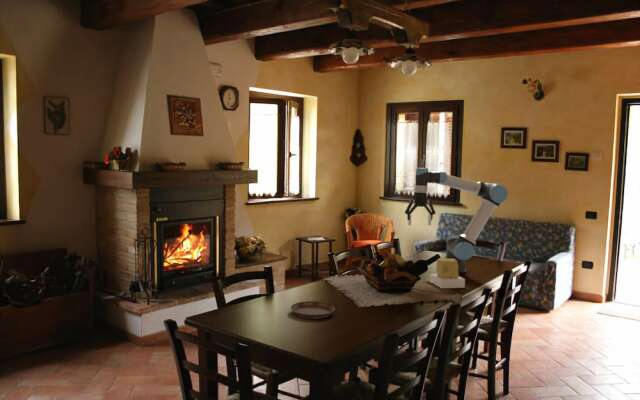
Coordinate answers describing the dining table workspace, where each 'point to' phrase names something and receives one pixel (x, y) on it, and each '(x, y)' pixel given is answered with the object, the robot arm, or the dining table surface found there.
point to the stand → (447, 281)
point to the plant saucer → (312, 309)
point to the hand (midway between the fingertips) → (419, 225)
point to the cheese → (447, 268)
